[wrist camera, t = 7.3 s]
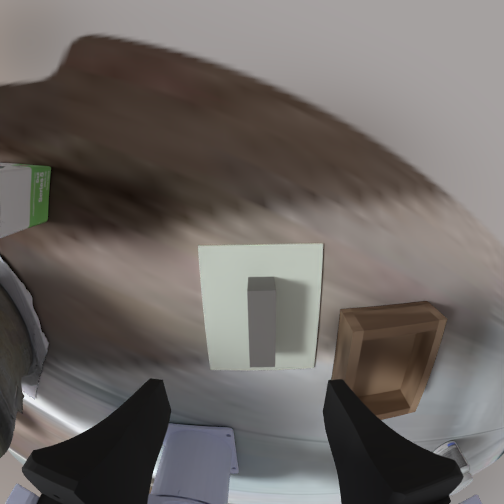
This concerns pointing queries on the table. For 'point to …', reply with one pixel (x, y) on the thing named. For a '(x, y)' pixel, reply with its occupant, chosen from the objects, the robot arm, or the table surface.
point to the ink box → (23, 196)
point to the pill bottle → (454, 453)
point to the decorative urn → (17, 351)
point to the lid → (261, 305)
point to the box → (388, 354)
